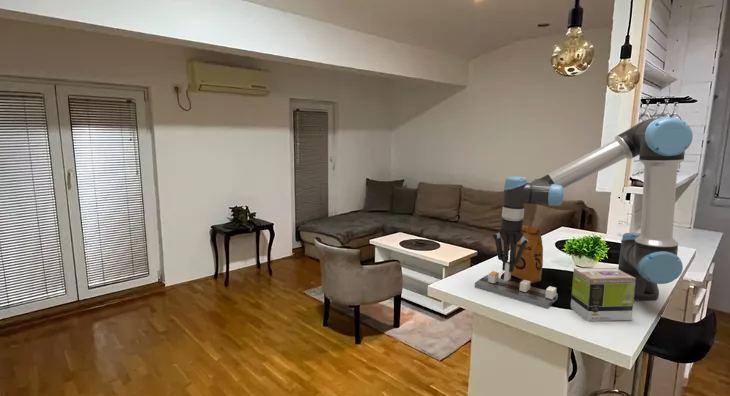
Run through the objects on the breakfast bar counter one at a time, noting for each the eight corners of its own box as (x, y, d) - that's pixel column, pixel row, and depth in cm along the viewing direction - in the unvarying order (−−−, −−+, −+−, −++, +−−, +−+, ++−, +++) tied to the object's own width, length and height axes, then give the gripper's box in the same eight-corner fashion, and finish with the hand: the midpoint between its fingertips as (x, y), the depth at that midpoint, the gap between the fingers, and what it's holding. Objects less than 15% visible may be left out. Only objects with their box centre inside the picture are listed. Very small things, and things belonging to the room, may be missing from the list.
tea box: (611, 307, 134) (616, 266, 132) (632, 321, 125) (638, 278, 122) (568, 307, 134) (573, 266, 131) (586, 321, 124) (591, 278, 121)
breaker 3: (555, 295, 138) (556, 287, 137) (552, 299, 135) (553, 291, 134) (548, 294, 139) (549, 286, 139) (545, 297, 136) (545, 289, 136)
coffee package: (530, 285, 153) (535, 231, 149) (504, 275, 163) (508, 224, 159) (545, 280, 158) (550, 228, 154) (519, 271, 168) (523, 222, 165)
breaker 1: (498, 280, 151) (498, 272, 151) (494, 283, 148) (494, 275, 148) (492, 279, 153) (492, 271, 152) (488, 281, 150) (488, 273, 149)
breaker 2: (529, 288, 144) (530, 281, 143) (526, 292, 141) (526, 284, 140) (523, 287, 145) (523, 279, 145) (519, 290, 142) (520, 282, 142)
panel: (560, 299, 140) (560, 294, 140) (551, 309, 132) (551, 303, 132) (486, 279, 158) (486, 274, 158) (474, 287, 150) (474, 282, 150)
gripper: (534, 219, 141) (528, 281, 145) (499, 214, 150) (494, 272, 154) (526, 223, 136) (521, 286, 140) (491, 217, 144) (486, 277, 148)
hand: (507, 279), depth 147 cm, fingers closed
